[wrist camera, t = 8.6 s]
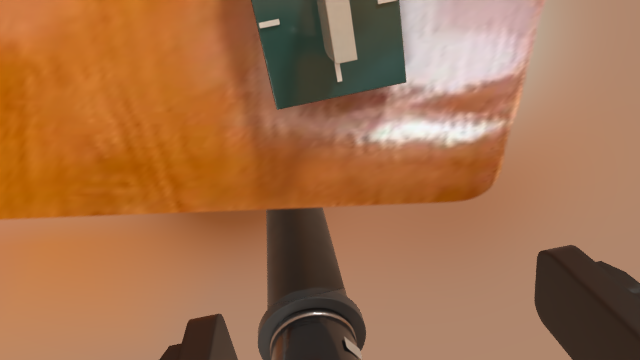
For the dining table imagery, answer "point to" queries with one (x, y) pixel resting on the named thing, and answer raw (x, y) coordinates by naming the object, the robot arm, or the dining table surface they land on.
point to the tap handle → (337, 30)
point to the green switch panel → (311, 59)
